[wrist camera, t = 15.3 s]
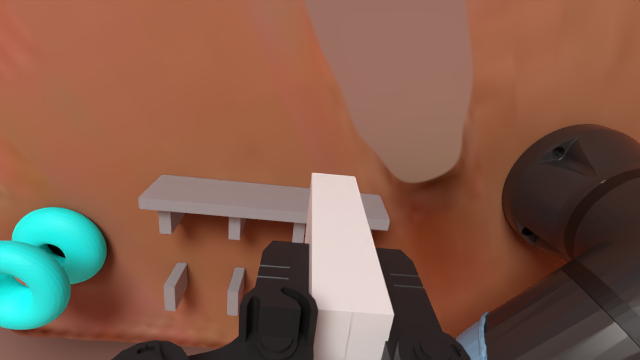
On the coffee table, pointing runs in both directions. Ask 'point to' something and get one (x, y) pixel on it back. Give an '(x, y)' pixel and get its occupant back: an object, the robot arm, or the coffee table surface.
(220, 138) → the coffee table surface
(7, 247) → the donuts
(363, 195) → the grey peg rack
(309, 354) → the robot arm
